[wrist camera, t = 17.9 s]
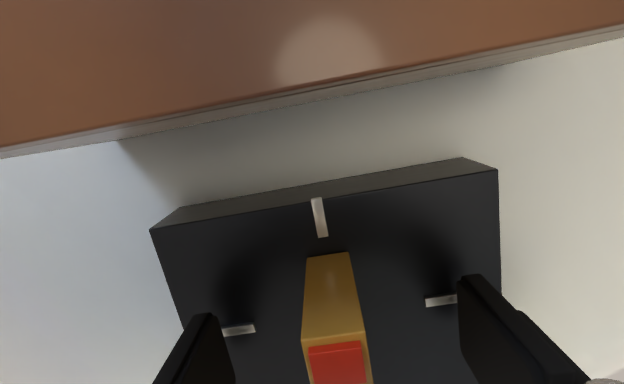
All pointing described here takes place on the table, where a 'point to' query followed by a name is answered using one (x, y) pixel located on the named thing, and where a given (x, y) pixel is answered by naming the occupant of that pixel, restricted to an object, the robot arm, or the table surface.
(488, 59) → the chest
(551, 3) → the lid
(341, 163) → the table surface
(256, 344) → the lock plate
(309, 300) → the thumb turn
